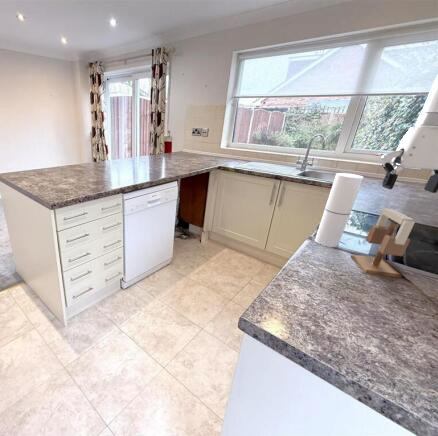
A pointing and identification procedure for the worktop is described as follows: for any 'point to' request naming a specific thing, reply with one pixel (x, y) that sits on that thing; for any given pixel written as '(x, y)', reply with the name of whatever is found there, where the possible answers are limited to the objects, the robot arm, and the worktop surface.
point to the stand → (378, 259)
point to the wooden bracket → (390, 242)
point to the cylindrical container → (338, 209)
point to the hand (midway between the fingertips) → (407, 189)
